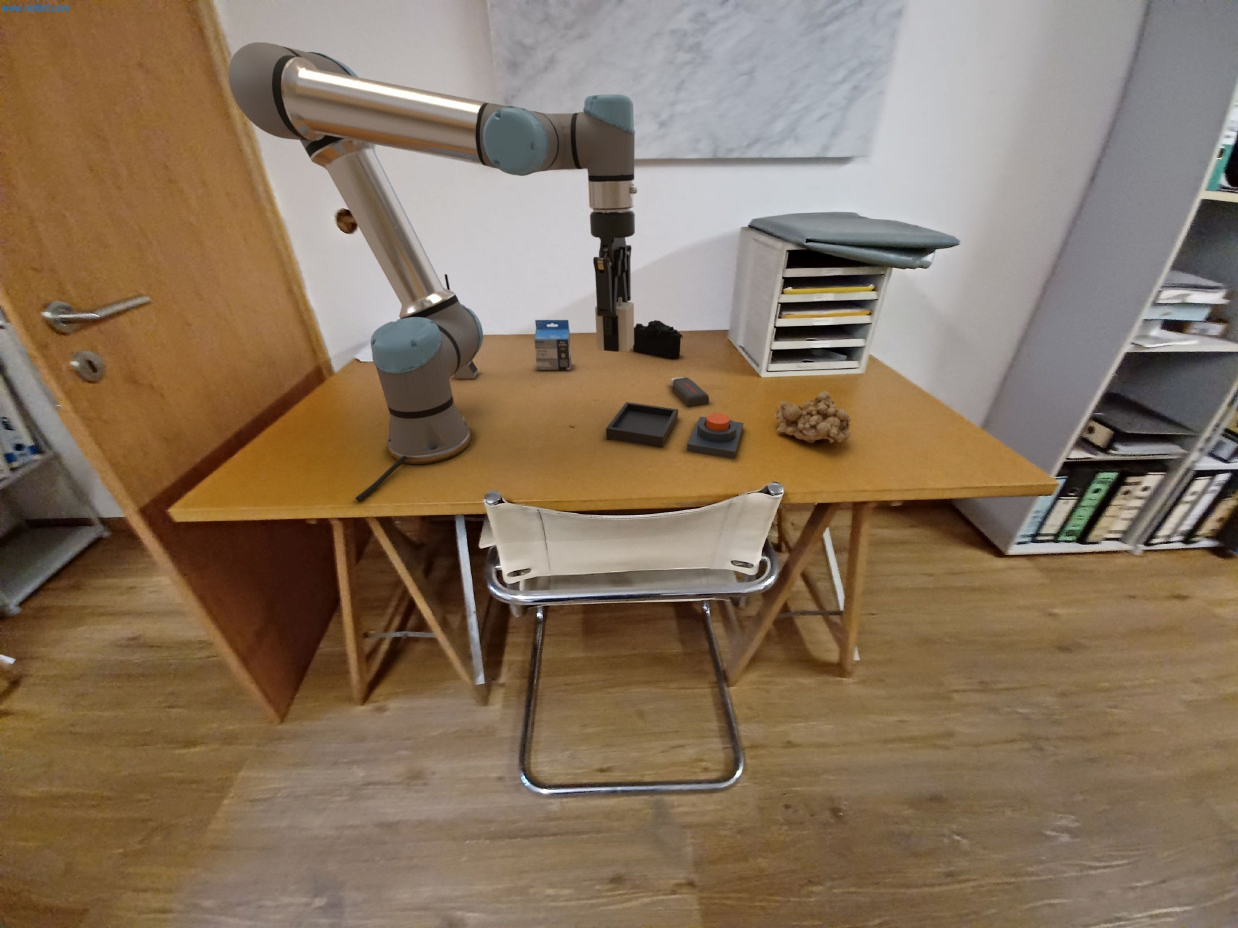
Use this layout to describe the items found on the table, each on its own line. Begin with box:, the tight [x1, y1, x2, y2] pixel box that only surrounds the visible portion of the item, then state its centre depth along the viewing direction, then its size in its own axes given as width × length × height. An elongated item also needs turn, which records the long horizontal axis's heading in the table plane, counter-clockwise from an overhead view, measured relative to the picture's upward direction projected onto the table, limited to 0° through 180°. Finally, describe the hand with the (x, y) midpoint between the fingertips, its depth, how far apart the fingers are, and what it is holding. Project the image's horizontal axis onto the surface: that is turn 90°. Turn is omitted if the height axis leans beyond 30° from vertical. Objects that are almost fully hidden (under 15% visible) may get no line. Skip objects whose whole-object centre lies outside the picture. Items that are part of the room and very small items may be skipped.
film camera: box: [632, 319, 684, 360], centre depth 140 cm, size 15×10×9 cm, turn 58°
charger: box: [594, 297, 635, 353], centre depth 93 cm, size 4×6×9 cm
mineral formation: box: [773, 390, 852, 444], centre depth 97 cm, size 8×13×15 cm
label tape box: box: [534, 319, 572, 371], centre depth 128 cm, size 9×4×12 cm, turn 88°
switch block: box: [686, 416, 745, 460], centre depth 98 cm, size 12×9×4 cm
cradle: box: [605, 401, 679, 449], centre depth 102 cm, size 13×12×2 cm
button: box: [706, 412, 731, 431], centre depth 97 cm, size 4×4×2 cm
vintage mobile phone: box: [444, 273, 479, 380], centre depth 121 cm, size 4×5×25 cm
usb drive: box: [670, 376, 710, 408], centre depth 116 cm, size 5×12×3 cm, turn 18°
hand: (615, 345), depth 95 cm, fingers closed on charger, 4 cm apart
